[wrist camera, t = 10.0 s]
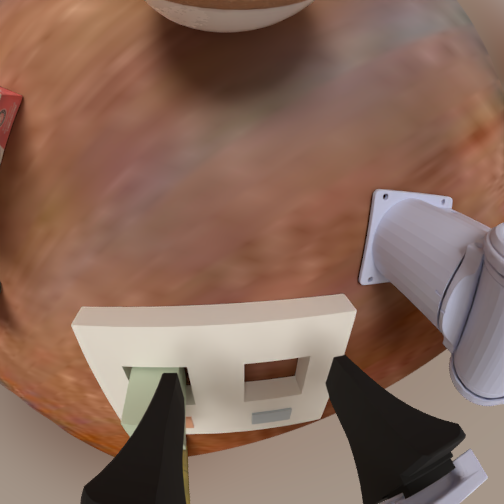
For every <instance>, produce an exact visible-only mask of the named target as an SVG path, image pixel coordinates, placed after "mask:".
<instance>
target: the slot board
mask: <svg viewBox="0 0 504 504" xmlns="http://www.w3.org/2000/svg"><path fill="white" fill-rule="evenodd" d="M356 312H357V310H356V309H355V307H354V306H353V305H352V304H351V302H350V301H349V300H348V298H347V297H346V296H345V295H344V294H337V295H328V296H318V297H309V298H298V299H287V300H275V301H262V302H248V303H232V304H214V305H192V306H160V307H81V308H80V310H79V312H78V314H77V315H76V317H75V319H74V321H73V322H72V324H71V326H72V328H73V331H74V333H75V336H76V338H77V340H78V342H79V345H80V347H81V349H82V351H83V353H84V355H85V358H86V360H87V362H88V364H89V366H90V368H91V370H92V372H93V374H94V375H95V377H96V379H97V381H98V383H99V385H100V387H101V388H102V390H103V392H104V394H105V395H106V397H107V399H108V400H109V402H110V404H111V405H112V407H113V409H114V410H115V412H116V414H117V415H118V417H119V418H120V420H121V419H122V414H123V408H124V403H125V398H126V393H127V388H128V383H129V379H130V374H131V370H132V367H187V369H188V374H189V378H190V383H191V385H186V434H210V433H228V432H240V431H251V430H259V429H267V428H274V427H281V426H287V425H292V424H298V423H303V422H308V421H313V420H317V419H320V418H321V416H322V413H323V411H324V408H325V406H326V403H327V401H328V398H329V394H328V391H327V387H326V384H325V383H326V380H327V377H328V374H329V371H330V367H331V364H332V361H333V358H334V357H337V356H342V355H344V353H345V350H346V346H347V343H348V340H349V337H350V333H351V330H352V326H353V323H354V319H355V315H356ZM294 358H298V363H297V368H296V373H295V376H290V377H283V378H276V379H268V380H259V381H249V382H244V364H250V363H261V362H270V361H278V360H286V359H294Z"/></svg>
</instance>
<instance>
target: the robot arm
mask: <svg viewBox="0 0 504 504" xmlns="http://www.w3.org/2000/svg"><path fill="white" fill-rule="evenodd" d="M384 194H385V195H386V196H385V198H384V199H383V195H384ZM451 208H452V198H451V197H448V196H441V195H433V194H425V193H416V192H407V191H396V190H385V189H377V190H375V191H374V193H373V198H372V205H371V213H370V219H369V226H368V232H367V238H366V244H365V249H364V255H363V260H362V265H361V270H360V275H359V282H360V284H362V285H369V284H378V283H386V282H391V283H392V284H393V285H394V286H395V287H396V288H397V289H398V290H399V291H400V292H402V293H403V294H404V295H405V296H406V297H407V298H408V299H409V300H410V301H411V302H412V303H413V304H414V305H415V306H416V307H417V308H418V309H419V310H420V311H421V312H422V313H423V314H424V315H425V316H426V317H427V318H428V319H429V320H430V321H431V322H432V323H433V324H434V325H435V326H436V327H437V329H438V330H439V331H440V332H442V334H443V335H444V340H443V344H444V346H445V347H446V348H447V349H448V350H449V351H450V352H451V353H452V354H451V358H450V363H449V371H450V376H451V379H452V382H453V384H454V386H455V387H456V389H457V390H458V391H459V393H460V394H461V395H462V396H463V397H464V398H466V399H467V400H469V401H470V402H472V403H475V404H477V405H482V406H494V405H499V404H504V223H501V224H499V225H498V226H496V227H494V228H492V229H491V228H489V227H487V226H486V225H484V224H482V223H480V222H478V221H476V220H474V219H472V218H470V217H468V216H465V215H463V214H461V213H459V212H457V211H455V210H453V209H451ZM370 277H371V278H370ZM369 278H370V279H369ZM368 279H369V280H368ZM325 384H326V387H327V391H328V394H329V397H330V401H331V403H332V405H333V407H334V410H335V412H336V414H337V416H338V418H339V420H340V423H341V425H342V427H343V429H344V431H345V433H346V436H347V438H348V440H349V444H350V446H351V450H352V453H353V456H354V460H355V463H356V468H357V471H358V476H359V481H360V485H361V492H362V499H363V504H378V503H379V504H459V503H461V502H462V501H463V500H464V499H465V498H466V497H467V496H468V495H470V494H471V493H472V492H473V491H474V490H475V489H476V488H477V487H479V486H480V485H481V484H482V483H483V482H484V481H485V480H486V479H487V478H488V477H487V475H486V473H485V471H484V470H483V468H482V466H481V465H480V463H479V461H478V460H477V458H476V456H475V455H474V453H473V451H472V450H471V449H469V450H467V451H466V452H465V453H463V454H462V455H461V456H459V457H458V458H457V459H455V460H454V461H452V460H451V459H450V458H452V457H453V455H452V453H451V451H452V450H453V449H454V448H455V447H456V446H458V445H459V444H460V443H461V442H462V441H463V440H464V438H465V436H466V435H465V433H464V432H463V430H462V429H461V427H460V426H459V424H456V423H453V422H449V421H444V420H441V419H438V418H436V417H433V416H430V415H428V414H426V413H423V412H421V411H419V410H417V409H415V408H413V407H411V406H409V405H408V404H406V403H404V402H403V401H401V400H399V399H398V398H396V397H395V396H393V395H392V394H390V393H389V392H388V391H386V390H385V389H384V388H382V387H381V386H380V385H379V384H377V383H376V382H375V381H374V380H373V379H371V378H370V377H369V376H368V375H367V374H366V373H364V372H363V371H362V370H361V369H360V368H359V367H358V366H357V365H356V364H354V363H353V362H352V361H351V360H350V359H349V358H348V357H347V356H346V355H342V356H337V357H334V358H333V361H332V364H331V367H330V371H329V374H328V377H327V380H326V383H325ZM184 426H185V403H184V396H183V392H182V389H181V385H180V381H179V378H178V374H177V373H163V374H162V376H161V379H160V381H159V384H158V387H157V389H156V391H155V393H154V396H153V398H152V400H151V402H150V404H149V406H148V408H147V410H146V412H145V414H144V416H143V417H142V419H141V421H140V423H139V424H138V426H137V428H136V429H135V431H134V432H133V434H132V435H131V437H130V438H129V440H128V441H127V443H126V444H125V445H124V447H123V448H122V449H121V450H120V452H119V453H118V454H117V455H116V457H115V458H114V459H113V460H112V461H111V462H110V463H109V464H108V465H107V466H106V467H105V468H104V469H103V470H102V471H101V472H100V473H99V474H98V475H97V476H96V477H95V478H93V479H92V480H91V481H90V482H89V483H87V484H86V485H85V486H84V489H83V492H82V496H81V504H186V497H185V488H184V478H183V441H184ZM387 499H388V500H387ZM385 500H386V501H385ZM383 501H384V502H383ZM381 502H382V503H381Z"/></svg>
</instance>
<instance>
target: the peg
mask: <svg viewBox="0 0 504 504" xmlns="http://www.w3.org/2000/svg"><path fill="white" fill-rule="evenodd" d="M163 373H177V374H178V378H179V381H180V385H181V389H182V392H183V396H184V403H185V426H184V441H183V450H186V374H185V369H184V367H132V370H131V374H130V379H129V383H128V388H127V393H126V398H125V403H124V408H123V414H122V419H121V425H122V426H123V428H124V429H125V431H126V432H127V433H128V435H129V436H130V437H131V435H132V434H133V432H134V431H135V429H136V428H137V426H138V424H139V423H140V421H141V419H142V417H143V416H144V414H145V412H146V410H147V408H148V406H149V404H150V402H151V400H152V398H153V396H154V393H155V391H156V389H157V387H158V384H159V381H160V379H161V376H162V374H163Z"/></svg>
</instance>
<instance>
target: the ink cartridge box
mask: <svg viewBox="0 0 504 504" xmlns="http://www.w3.org/2000/svg"><path fill="white" fill-rule="evenodd" d="M22 97H23V96H22V95H19V94H17V93H14V92H12V91H10V90H7V89H5V88H2V87H0V164H1V160H2V156H3V153H4V149H5V146H6V143H7V139H8V136H9V133H10V130H11V127H12V124H13V121H14V119H15V116H16V113H17V111H18V108H19V106H20V103H21V100H22Z"/></svg>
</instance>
